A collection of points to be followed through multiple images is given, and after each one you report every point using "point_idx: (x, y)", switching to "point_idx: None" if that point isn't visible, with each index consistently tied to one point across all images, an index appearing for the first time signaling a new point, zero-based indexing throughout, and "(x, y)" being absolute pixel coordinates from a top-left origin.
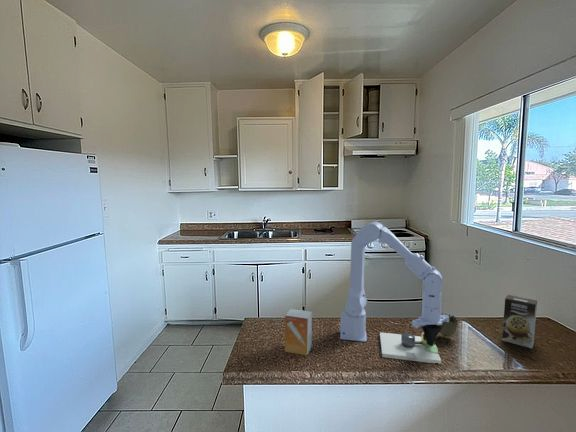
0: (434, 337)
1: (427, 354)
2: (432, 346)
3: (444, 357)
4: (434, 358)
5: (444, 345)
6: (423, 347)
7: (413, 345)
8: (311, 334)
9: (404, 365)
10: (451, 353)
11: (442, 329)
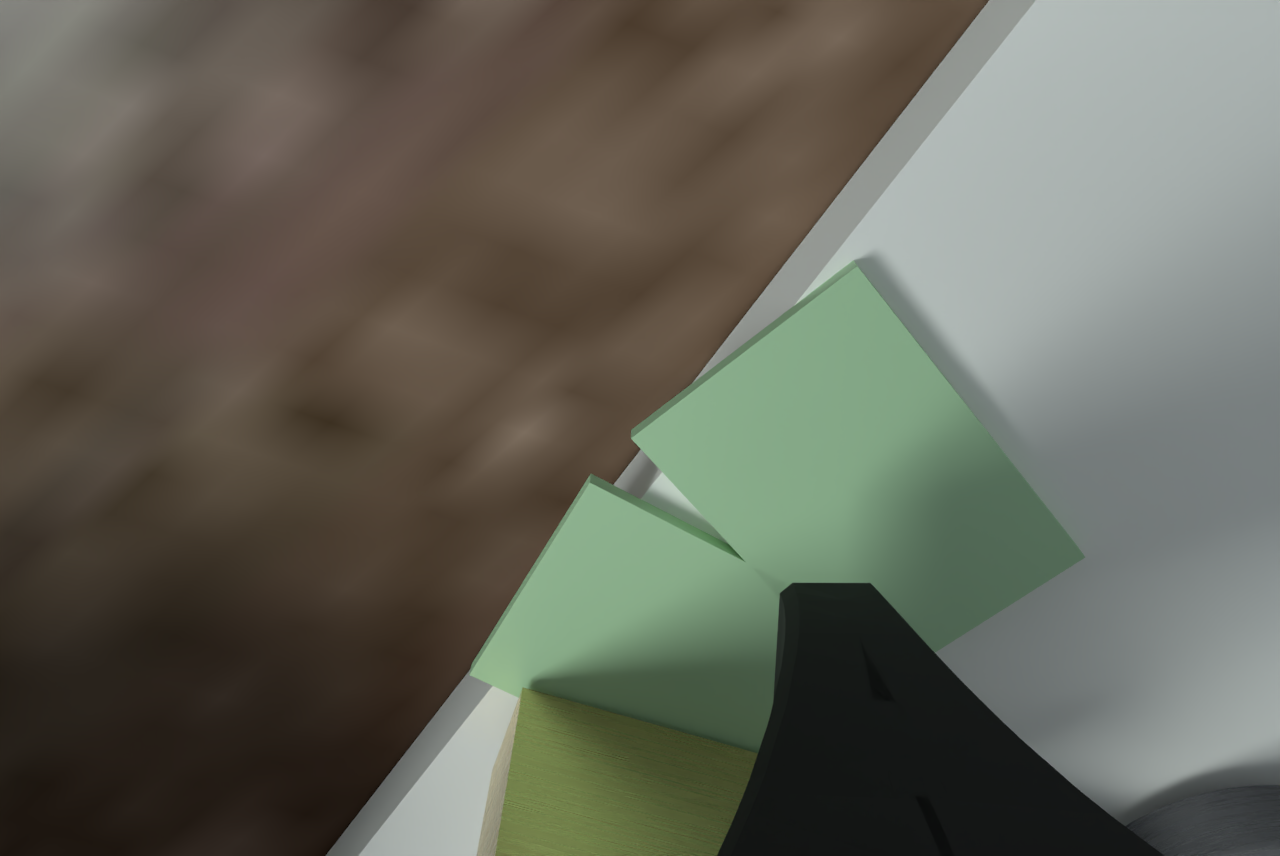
0: (878, 772)
1: (1212, 349)
2: (643, 635)
3: (626, 139)
4: (1264, 48)
5: (81, 641)
6: None
7: (1249, 824)
8: None
9: None
10: (208, 242)
11: None
